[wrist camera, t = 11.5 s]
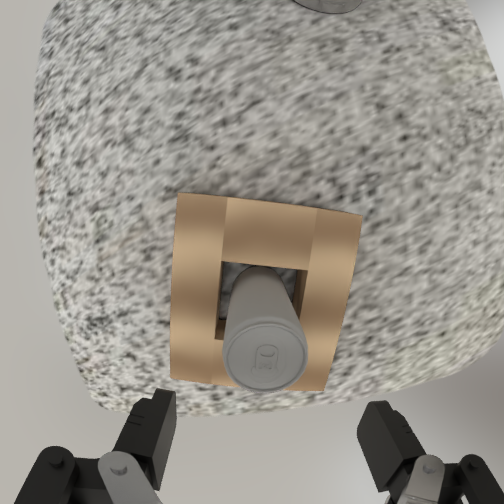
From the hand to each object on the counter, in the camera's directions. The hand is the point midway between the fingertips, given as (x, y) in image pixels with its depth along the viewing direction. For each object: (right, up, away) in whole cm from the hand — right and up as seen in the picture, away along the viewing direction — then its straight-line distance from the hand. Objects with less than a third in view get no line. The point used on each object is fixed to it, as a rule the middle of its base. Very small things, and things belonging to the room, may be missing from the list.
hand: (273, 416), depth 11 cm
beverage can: (0, +3, +16) cm, 17 cm away
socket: (0, +3, +16) cm, 17 cm away
